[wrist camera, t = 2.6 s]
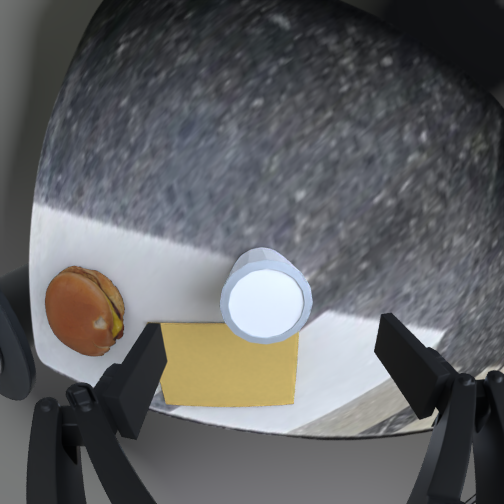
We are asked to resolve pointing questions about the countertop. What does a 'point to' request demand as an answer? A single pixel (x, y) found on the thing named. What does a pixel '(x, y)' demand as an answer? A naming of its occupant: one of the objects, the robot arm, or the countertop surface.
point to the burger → (85, 310)
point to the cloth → (226, 367)
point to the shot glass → (265, 297)
